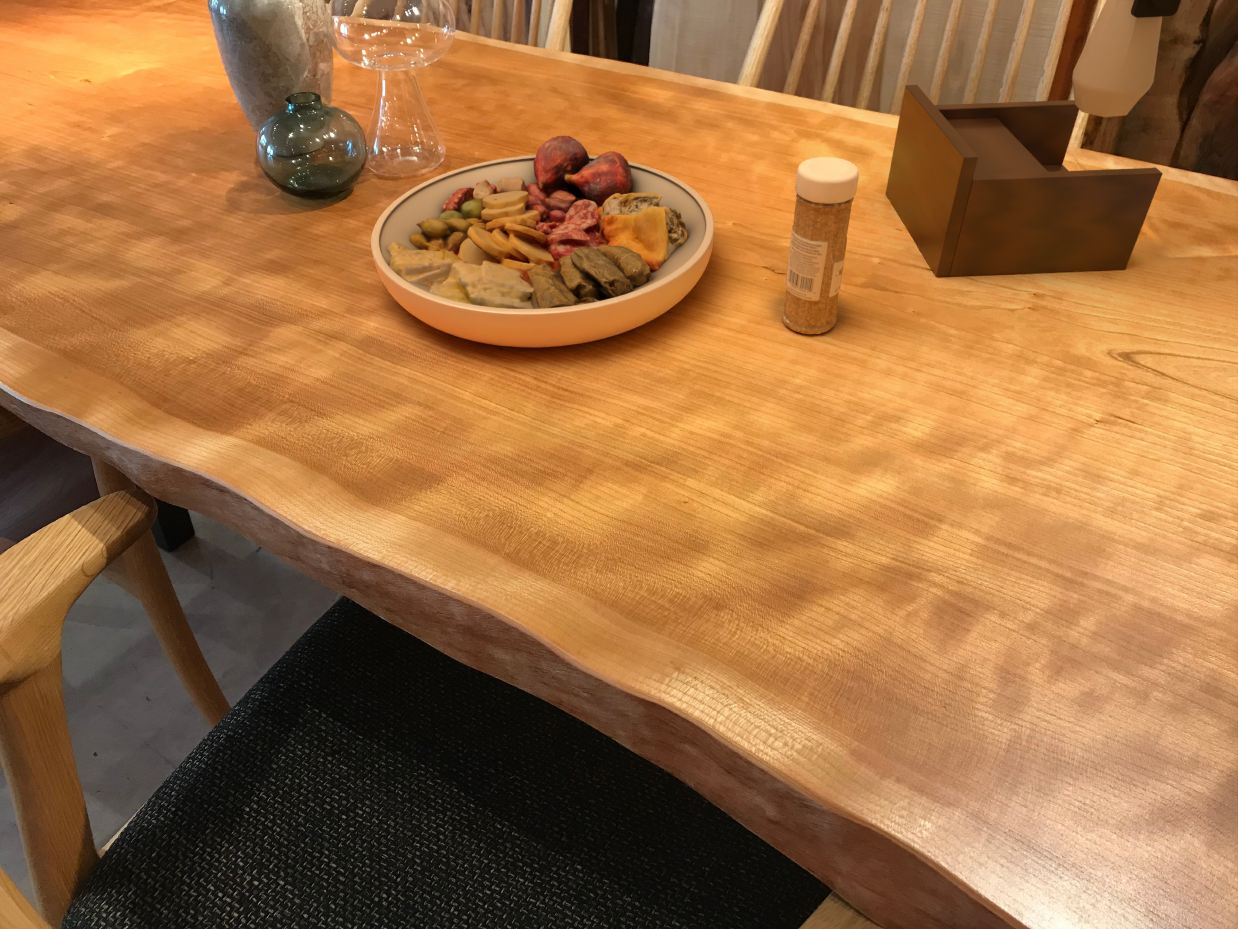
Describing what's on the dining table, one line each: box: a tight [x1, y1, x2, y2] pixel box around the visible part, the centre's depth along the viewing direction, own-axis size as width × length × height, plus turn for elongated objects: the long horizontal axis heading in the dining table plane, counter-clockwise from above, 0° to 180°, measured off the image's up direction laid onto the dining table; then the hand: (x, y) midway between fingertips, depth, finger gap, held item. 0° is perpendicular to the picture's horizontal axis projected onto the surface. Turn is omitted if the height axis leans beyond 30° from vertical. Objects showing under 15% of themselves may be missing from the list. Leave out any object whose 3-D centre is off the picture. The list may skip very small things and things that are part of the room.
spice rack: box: [885, 84, 1163, 278], centre depth 84 cm, size 17×17×11 cm
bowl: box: [370, 135, 715, 348], centre depth 81 cm, size 30×30×8 cm
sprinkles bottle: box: [781, 156, 860, 335], centre depth 72 cm, size 5×5×13 cm
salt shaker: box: [1071, 0, 1163, 118], centre depth 69 cm, size 6×6×13 cm
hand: (1136, 3), depth 68 cm, fingers closed on salt shaker, 4 cm apart
